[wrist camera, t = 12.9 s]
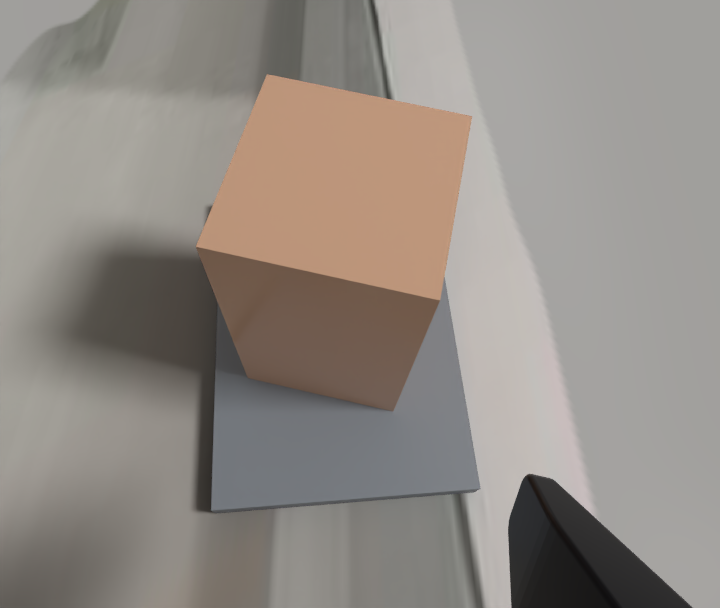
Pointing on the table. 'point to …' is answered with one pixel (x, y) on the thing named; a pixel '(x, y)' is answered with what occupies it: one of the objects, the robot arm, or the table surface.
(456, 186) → the cover box
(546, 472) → the table surface
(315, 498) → the post board
